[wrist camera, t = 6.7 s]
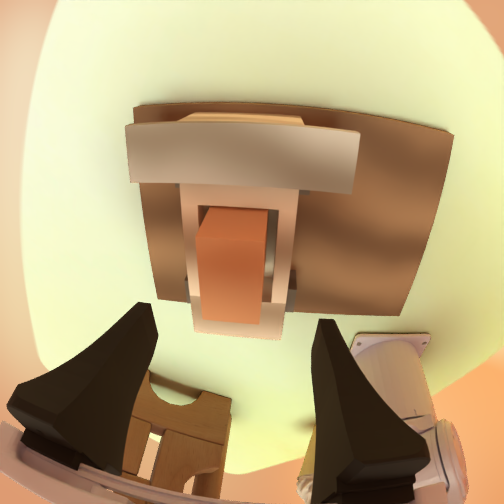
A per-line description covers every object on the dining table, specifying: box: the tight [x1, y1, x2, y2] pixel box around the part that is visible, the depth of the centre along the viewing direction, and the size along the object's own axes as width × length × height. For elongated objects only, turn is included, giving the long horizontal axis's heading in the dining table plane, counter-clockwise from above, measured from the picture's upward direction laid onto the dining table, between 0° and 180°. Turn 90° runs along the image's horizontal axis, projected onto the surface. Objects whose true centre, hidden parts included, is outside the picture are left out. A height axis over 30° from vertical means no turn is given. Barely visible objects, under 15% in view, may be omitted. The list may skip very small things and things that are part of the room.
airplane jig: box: [125, 102, 454, 340], centre depth 19 cm, size 15×20×5 cm
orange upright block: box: [195, 206, 269, 325], centre depth 17 cm, size 5×3×6 cm, turn 178°
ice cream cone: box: [296, 424, 316, 504], centre depth 30 cm, size 5×5×15 cm
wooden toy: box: [113, 370, 232, 504], centre depth 24 cm, size 15×7×25 cm, turn 67°
